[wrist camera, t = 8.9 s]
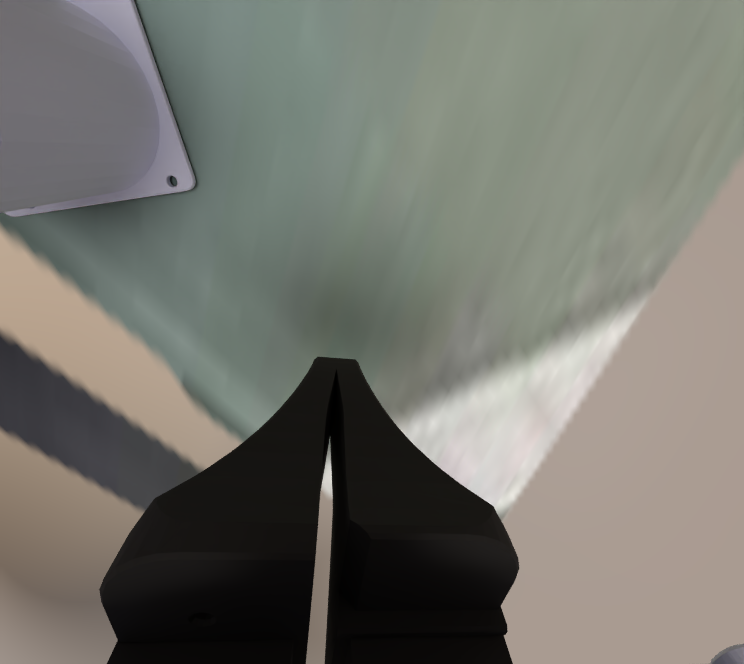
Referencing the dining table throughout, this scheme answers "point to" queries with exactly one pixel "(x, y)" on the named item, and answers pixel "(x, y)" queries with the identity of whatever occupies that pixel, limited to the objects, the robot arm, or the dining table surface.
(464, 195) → the dining table surface
